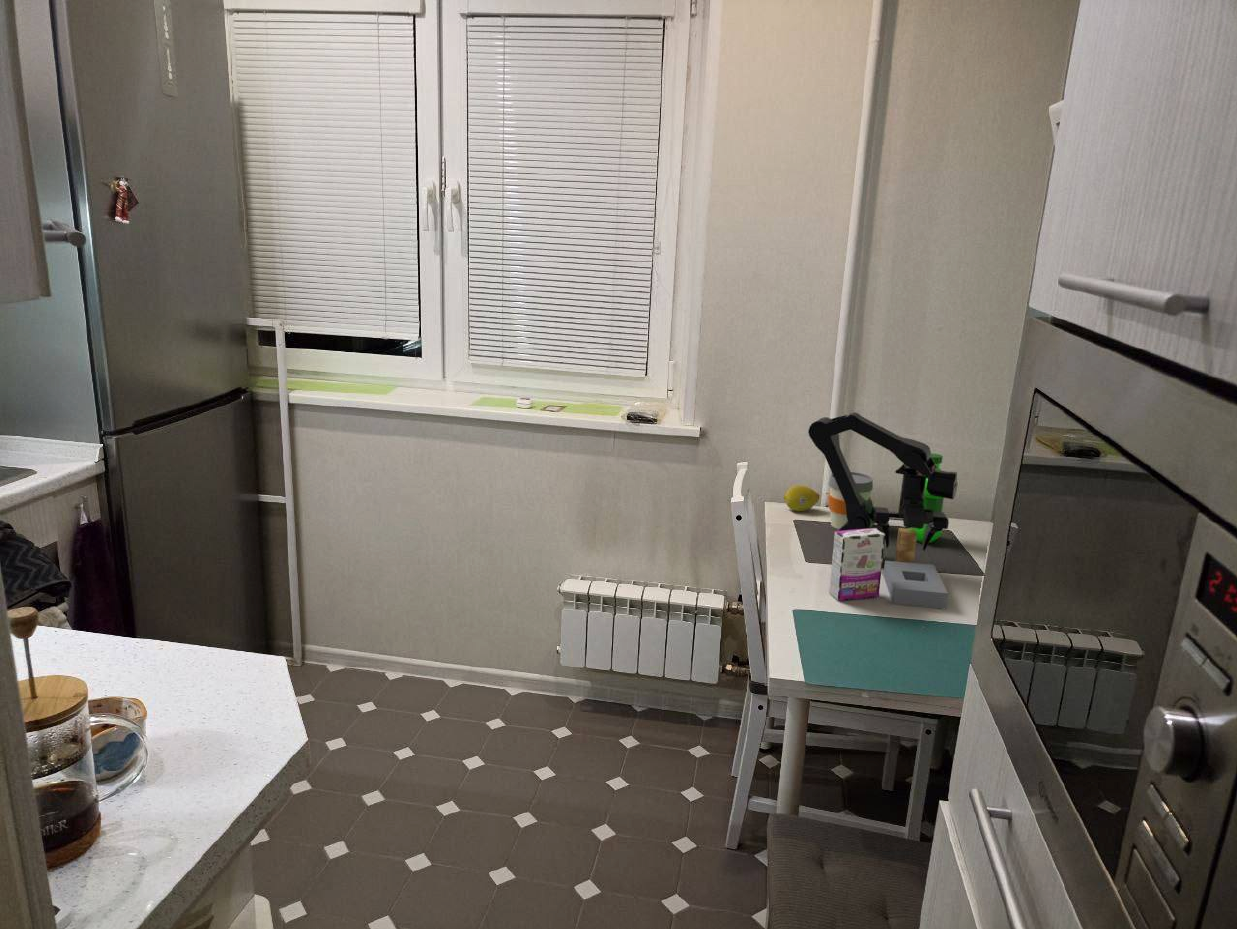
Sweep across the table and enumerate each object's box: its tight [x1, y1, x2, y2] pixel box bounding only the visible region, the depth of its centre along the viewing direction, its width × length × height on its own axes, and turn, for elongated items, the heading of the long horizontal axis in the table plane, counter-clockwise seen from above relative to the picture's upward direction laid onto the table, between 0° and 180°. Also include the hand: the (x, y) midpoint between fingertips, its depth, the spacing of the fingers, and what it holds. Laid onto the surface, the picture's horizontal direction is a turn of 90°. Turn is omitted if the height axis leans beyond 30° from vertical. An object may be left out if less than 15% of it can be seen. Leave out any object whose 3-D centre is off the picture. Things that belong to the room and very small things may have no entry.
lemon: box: [783, 484, 820, 512], centre depth 279 cm, size 11×8×8 cm
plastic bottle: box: [906, 453, 945, 544], centre depth 255 cm, size 10×10×25 cm
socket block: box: [882, 560, 949, 610], centre depth 222 cm, size 12×18×4 cm, turn 171°
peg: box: [894, 527, 917, 563], centre depth 236 cm, size 4×4×10 cm
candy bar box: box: [829, 527, 885, 602], centre depth 216 cm, size 11×5×16 cm, turn 105°
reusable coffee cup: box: [828, 471, 874, 530], centre depth 266 cm, size 13×13×15 cm
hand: (905, 548), depth 236 cm, fingers open, 9 cm apart
